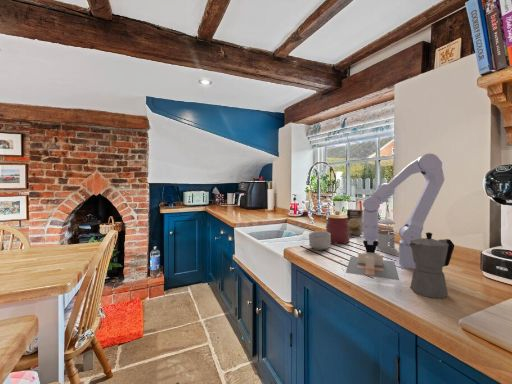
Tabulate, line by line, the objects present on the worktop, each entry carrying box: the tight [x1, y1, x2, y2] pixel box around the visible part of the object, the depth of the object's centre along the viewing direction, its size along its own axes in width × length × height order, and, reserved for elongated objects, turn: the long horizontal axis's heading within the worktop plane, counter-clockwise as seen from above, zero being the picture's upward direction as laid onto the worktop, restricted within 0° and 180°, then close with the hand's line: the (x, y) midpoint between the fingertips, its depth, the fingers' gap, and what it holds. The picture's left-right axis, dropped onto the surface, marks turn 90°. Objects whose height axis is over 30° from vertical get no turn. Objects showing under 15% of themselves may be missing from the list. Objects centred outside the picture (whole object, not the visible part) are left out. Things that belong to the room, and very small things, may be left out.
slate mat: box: [345, 256, 400, 281], centre depth 96 cm, size 17×22×1 cm
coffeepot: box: [409, 232, 455, 299], centre depth 74 cm, size 15×9×18 cm, turn 101°
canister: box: [325, 210, 351, 244], centre depth 141 cm, size 13×13×18 cm
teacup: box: [308, 230, 331, 251], centre depth 126 cm, size 14×11×8 cm
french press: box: [375, 199, 398, 252], centre depth 122 cm, size 10×12×25 cm
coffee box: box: [346, 208, 364, 236], centre depth 160 cm, size 9×6×16 cm
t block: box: [357, 250, 384, 269], centre depth 97 cm, size 9×9×4 cm
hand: (370, 258), depth 103 cm, fingers closed
